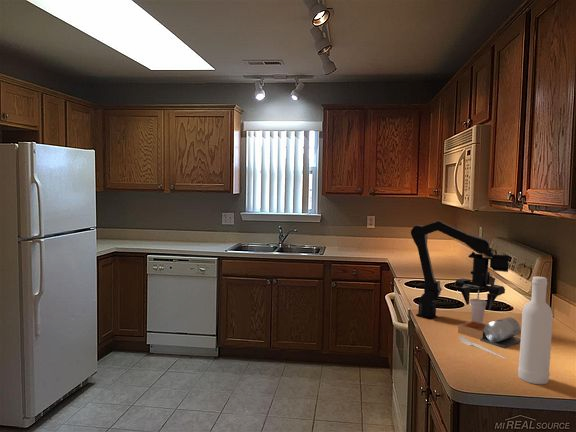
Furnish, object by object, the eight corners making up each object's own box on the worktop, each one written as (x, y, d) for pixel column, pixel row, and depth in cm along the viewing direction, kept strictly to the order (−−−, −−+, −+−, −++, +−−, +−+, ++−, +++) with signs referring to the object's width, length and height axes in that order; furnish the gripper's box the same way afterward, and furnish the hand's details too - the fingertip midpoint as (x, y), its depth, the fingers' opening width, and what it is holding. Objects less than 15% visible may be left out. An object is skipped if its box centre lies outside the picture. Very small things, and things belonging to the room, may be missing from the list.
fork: (503, 362, 147) (504, 356, 147) (456, 341, 165) (456, 336, 165) (510, 360, 149) (511, 355, 148) (463, 339, 167) (463, 334, 166)
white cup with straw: (482, 322, 189) (484, 288, 188) (487, 326, 183) (489, 292, 182) (466, 321, 190) (468, 288, 189) (471, 325, 183) (473, 291, 182)
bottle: (544, 375, 135) (551, 276, 134) (552, 386, 128) (559, 281, 126) (515, 371, 138) (521, 273, 136) (521, 382, 130) (528, 278, 128)
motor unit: (455, 333, 173) (456, 313, 173) (474, 327, 181) (475, 308, 181) (504, 348, 158) (506, 326, 158) (522, 341, 166) (524, 320, 166)
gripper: (513, 271, 182) (510, 309, 183) (470, 264, 197) (468, 299, 198) (498, 274, 175) (496, 313, 176) (455, 266, 190) (453, 303, 191)
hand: (478, 307), depth 186 cm, fingers open, 9 cm apart
